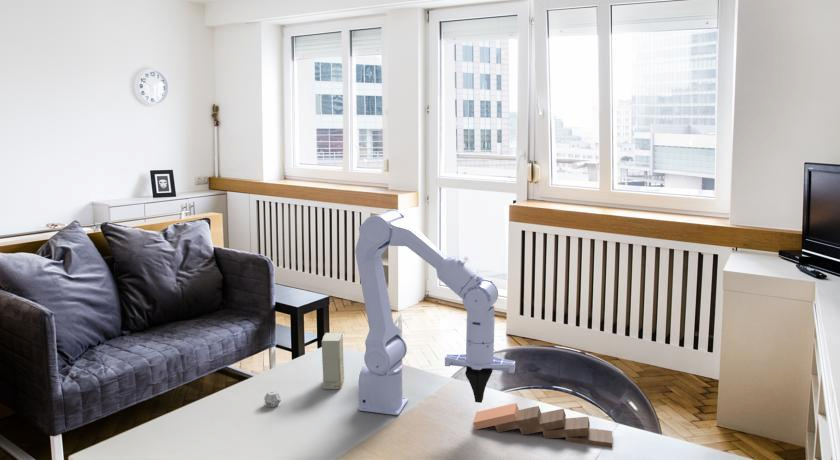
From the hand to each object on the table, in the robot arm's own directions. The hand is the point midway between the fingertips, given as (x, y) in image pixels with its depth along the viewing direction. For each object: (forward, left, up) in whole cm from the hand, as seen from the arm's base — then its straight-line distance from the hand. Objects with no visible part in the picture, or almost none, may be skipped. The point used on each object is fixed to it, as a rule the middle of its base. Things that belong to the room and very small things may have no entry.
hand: (479, 400), depth 140 cm
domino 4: (+18, 0, -5) cm, 19 cm away
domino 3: (+14, 0, -5) cm, 15 cm away
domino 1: (+4, 0, -5) cm, 6 cm away
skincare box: (-38, +11, -6) cm, 39 cm away
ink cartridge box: (-27, +21, -6) cm, 34 cm away
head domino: (-1, 0, -5) cm, 5 cm away
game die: (-47, -3, -6) cm, 47 cm away
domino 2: (+9, 0, -5) cm, 10 cm away
